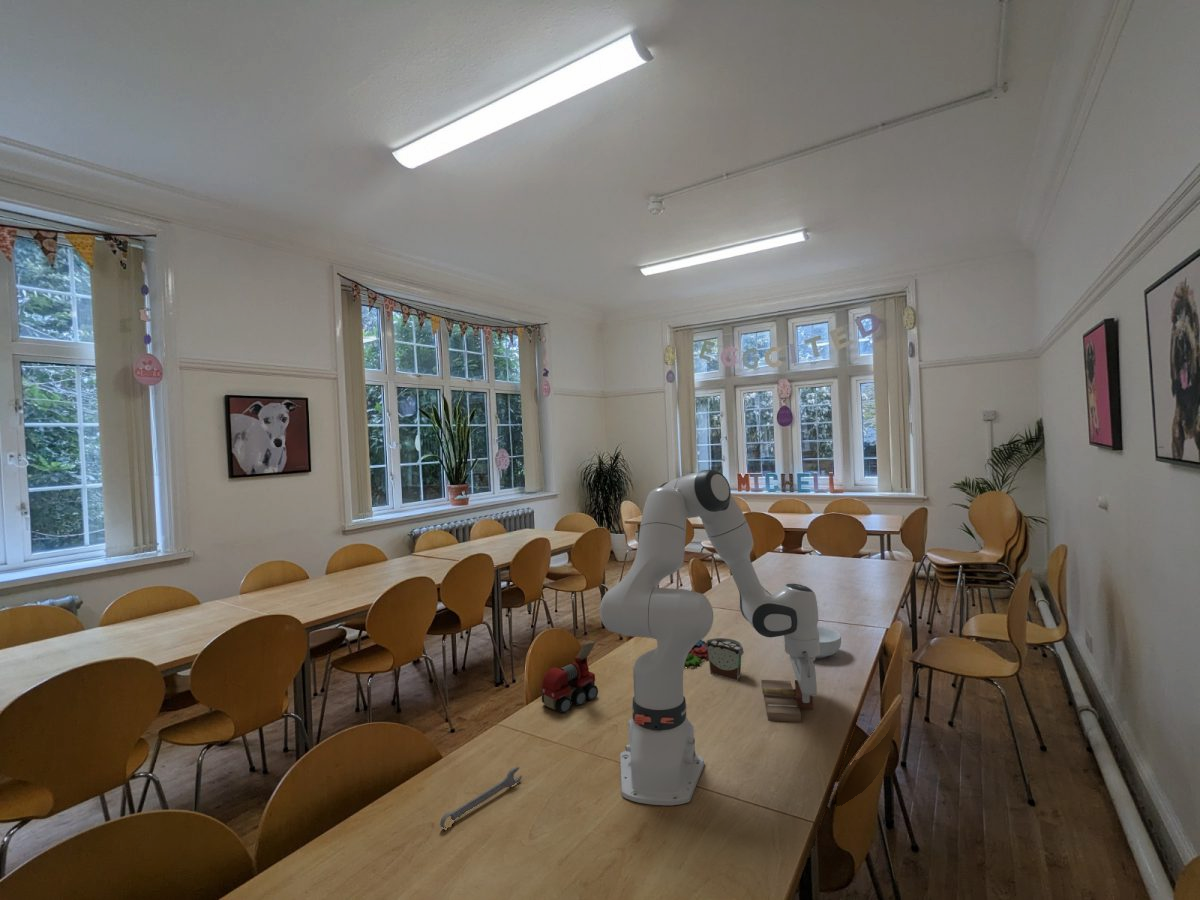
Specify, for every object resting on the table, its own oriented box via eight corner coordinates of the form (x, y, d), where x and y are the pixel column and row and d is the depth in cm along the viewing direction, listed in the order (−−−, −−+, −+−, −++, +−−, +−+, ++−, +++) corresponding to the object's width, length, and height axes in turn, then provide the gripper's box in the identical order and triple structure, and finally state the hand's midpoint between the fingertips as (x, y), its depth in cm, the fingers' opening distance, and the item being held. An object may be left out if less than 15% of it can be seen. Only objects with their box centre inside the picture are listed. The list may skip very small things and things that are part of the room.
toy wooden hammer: (813, 709, 145) (812, 686, 145) (763, 705, 149) (762, 683, 149) (811, 703, 149) (810, 680, 149) (762, 699, 152) (761, 677, 152)
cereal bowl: (826, 668, 171) (825, 645, 171) (778, 655, 183) (777, 633, 183) (851, 653, 182) (850, 631, 182) (804, 641, 195) (803, 621, 195)
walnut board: (801, 722, 139) (800, 713, 139) (768, 720, 141) (767, 712, 141) (790, 687, 159) (790, 680, 159) (761, 686, 160) (761, 679, 160)
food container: (752, 675, 168) (750, 642, 168) (742, 682, 163) (740, 648, 163) (716, 666, 176) (715, 634, 176) (706, 672, 172) (705, 640, 172)
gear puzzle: (677, 681, 167) (677, 668, 167) (635, 669, 178) (635, 656, 178) (728, 650, 191) (727, 638, 191) (688, 641, 201) (687, 630, 201)
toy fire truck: (539, 706, 154) (536, 643, 154) (581, 688, 164) (578, 629, 164) (565, 720, 145) (562, 653, 145) (607, 700, 156) (605, 637, 156)
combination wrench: (442, 817, 104) (523, 765, 119) (438, 814, 105) (519, 763, 120) (443, 836, 104) (524, 782, 119) (439, 833, 105) (520, 780, 120)
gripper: (822, 660, 137) (824, 716, 137) (807, 633, 157) (810, 682, 157) (795, 660, 138) (797, 715, 138) (784, 632, 158) (786, 681, 158)
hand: (804, 697), depth 147 cm, fingers closed on toy wooden hammer, 4 cm apart
